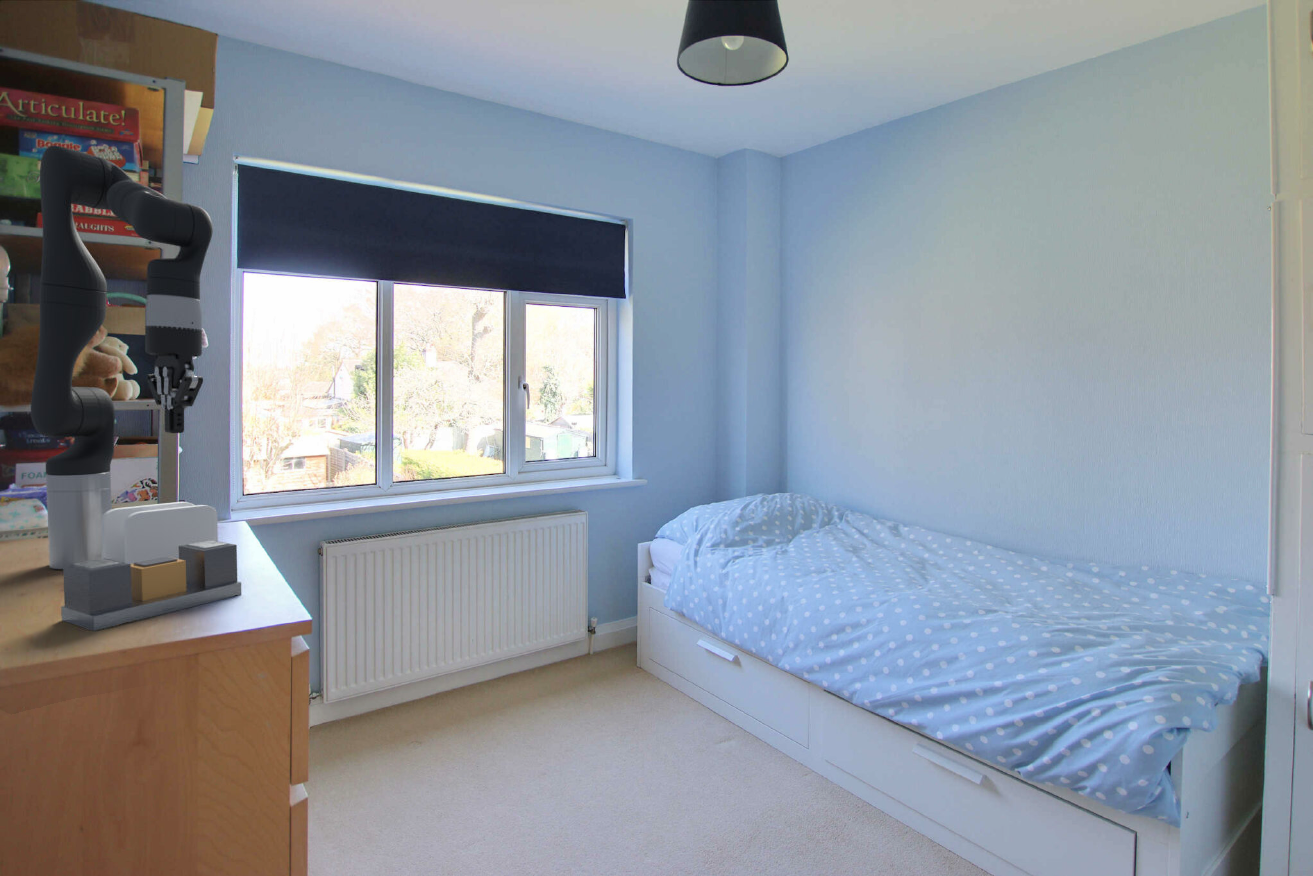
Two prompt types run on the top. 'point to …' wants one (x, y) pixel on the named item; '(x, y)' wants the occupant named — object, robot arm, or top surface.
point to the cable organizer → (155, 530)
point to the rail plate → (106, 599)
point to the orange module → (157, 578)
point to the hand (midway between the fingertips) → (174, 432)
